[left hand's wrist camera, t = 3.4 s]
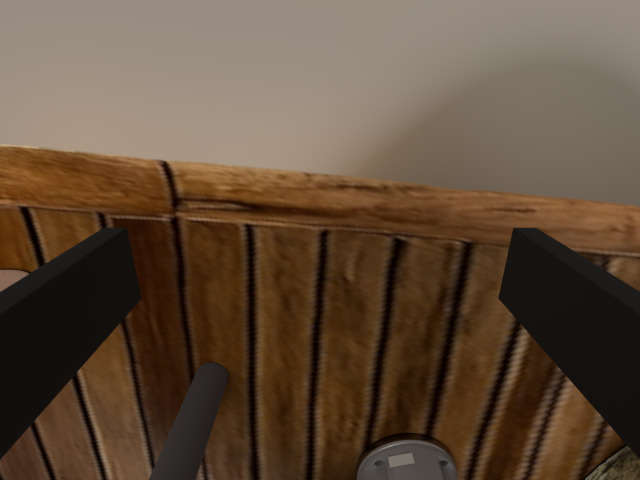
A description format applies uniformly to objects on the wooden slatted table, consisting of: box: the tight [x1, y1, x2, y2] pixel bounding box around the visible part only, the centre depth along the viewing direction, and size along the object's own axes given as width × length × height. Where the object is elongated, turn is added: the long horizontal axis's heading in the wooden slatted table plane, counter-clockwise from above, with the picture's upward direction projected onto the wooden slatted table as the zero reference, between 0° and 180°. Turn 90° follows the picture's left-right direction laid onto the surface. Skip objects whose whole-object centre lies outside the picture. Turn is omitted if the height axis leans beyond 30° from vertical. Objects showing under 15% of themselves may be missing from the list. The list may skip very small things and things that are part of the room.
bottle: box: [149, 363, 228, 480], centre depth 41 cm, size 4×4×19 cm
